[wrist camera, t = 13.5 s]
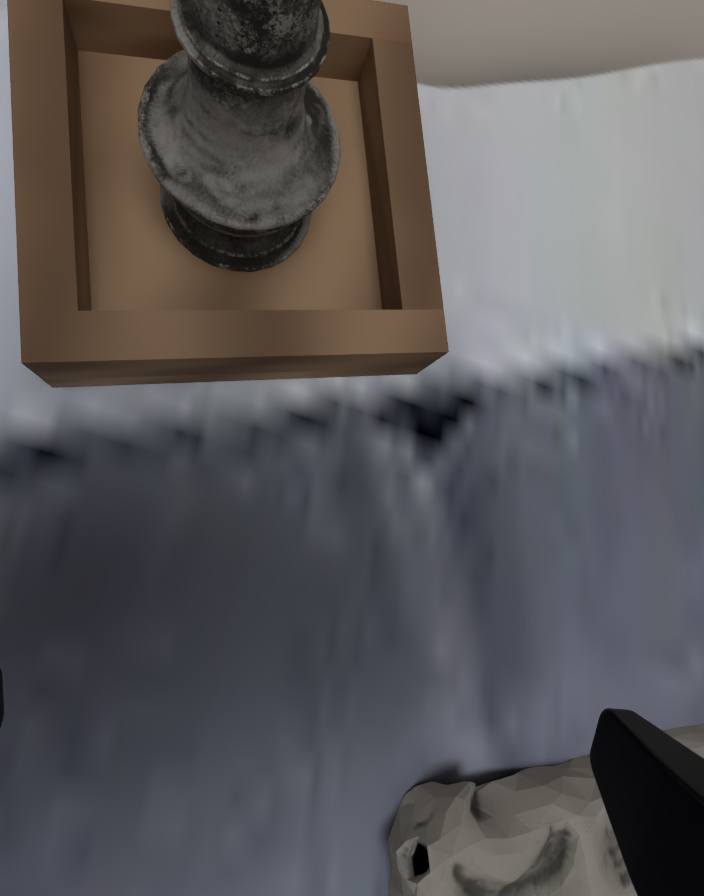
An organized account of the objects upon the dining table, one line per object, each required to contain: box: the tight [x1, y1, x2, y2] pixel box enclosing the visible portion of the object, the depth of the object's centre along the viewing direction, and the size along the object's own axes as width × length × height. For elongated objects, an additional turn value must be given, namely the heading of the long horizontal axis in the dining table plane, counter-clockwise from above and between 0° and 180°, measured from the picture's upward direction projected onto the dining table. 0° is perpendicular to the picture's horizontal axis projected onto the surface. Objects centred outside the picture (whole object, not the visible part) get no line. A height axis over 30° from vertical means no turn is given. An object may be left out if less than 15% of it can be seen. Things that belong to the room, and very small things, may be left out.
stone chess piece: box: [137, 0, 341, 272], centre depth 13 cm, size 6×6×12 cm
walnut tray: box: [7, 0, 449, 387], centre depth 19 cm, size 13×13×3 cm
